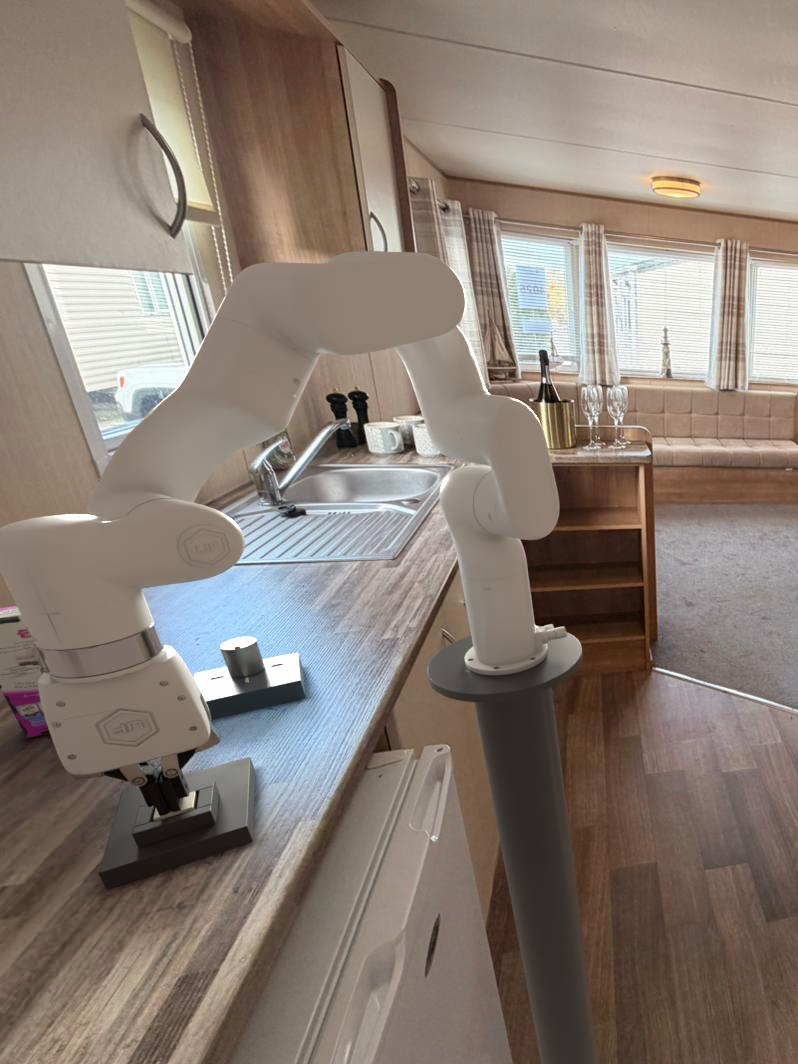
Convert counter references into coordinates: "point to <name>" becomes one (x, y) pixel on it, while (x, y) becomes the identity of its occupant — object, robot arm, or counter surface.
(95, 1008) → the counter surface
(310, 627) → the counter surface
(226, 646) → the volume dial
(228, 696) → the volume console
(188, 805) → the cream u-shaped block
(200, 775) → the stepped base plate
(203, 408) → the robot arm
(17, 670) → the candy bar box
